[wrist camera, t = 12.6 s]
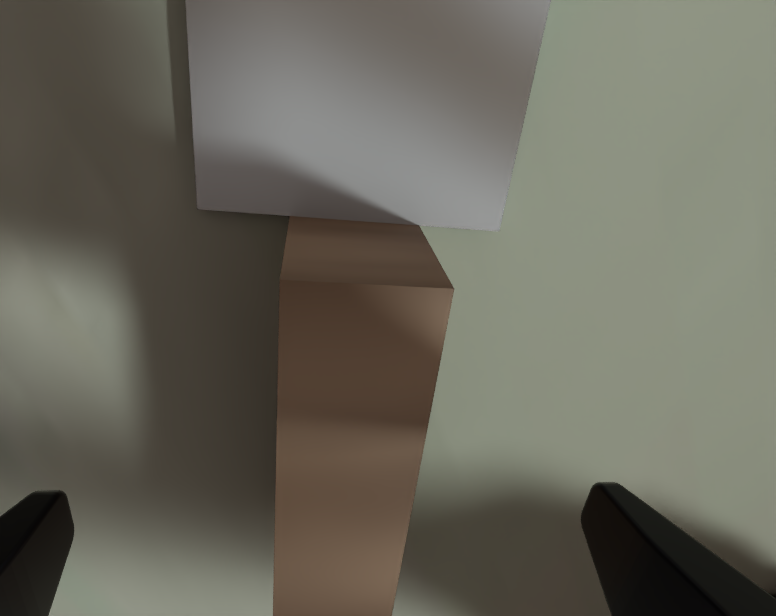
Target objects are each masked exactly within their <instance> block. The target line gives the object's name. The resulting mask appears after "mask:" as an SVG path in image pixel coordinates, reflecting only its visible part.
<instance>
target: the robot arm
mask: <svg viewBox="0 0 776 616" xmlns="http://www.w3.org/2000/svg"><path fill="white" fill-rule="evenodd" d="M581 524H582V528H583V531H584V534H585V538H586V541H587V544H588V547H589V550H590V553H591V556H592V559H593V562H594V565H595V568H596V571H597V574H598V577H599V580H600V583H601V586H602V589H603V592H604V595H605V598H606V601H607V604H608V607H609V609H610V612H611V614H612V616H776V598H774V597H773V596H771V595H770V594H769V593H767V592H766V591H765V590H763V589H762V588H760V587H759V586H758V585H756V584H755V583H754V582H752V581H751V580H750V579H748V578H747V577H745V576H744V575H743V574H741V573H740V572H739V571H737V570H736V569H735V568H733V567H732V566H730V565H729V564H728V563H726V562H725V561H724V560H722V559H721V558H720V557H718V556H717V555H715V554H714V553H713V552H711V551H710V550H709V549H707V548H706V547H705V546H703V545H702V544H700V543H699V542H698V541H696V540H695V539H694V538H692V537H691V536H690V535H688V534H687V533H685V532H684V531H683V530H681V529H680V528H679V527H677V526H676V525H675V524H673V523H672V522H671V521H669V520H668V519H666V518H665V517H664V516H662V515H661V514H660V513H658V512H657V511H656V510H654V509H653V508H651V507H650V506H649V505H647V504H646V503H645V502H643V501H642V500H641V499H639V498H638V497H636V496H635V495H634V494H632V493H631V492H630V491H628V490H627V489H626V488H624V487H623V486H621V485H620V484H618V483H615V482H598V483H595V484H594V485H593V486H592V488H591V490H590V493H589V495H588V498H587V500H586V503H585V505H584V507H583V510H582V513H581ZM73 537H74V523H73V519H72V515H71V511H70V507H69V503H68V499H67V496H66V494H65V493H64V492H63V491H60V490H47V491H35V492H33V493H31V494H29V495H28V496H27V497H25V498H24V499H23V500H21V501H20V502H19V503H17V504H16V505H15V506H13V507H12V508H11V509H10V510H8V511H7V512H6V513H4V514H3V515H2V516H0V616H48V615H49V612H50V609H51V606H52V603H53V600H54V597H55V594H56V591H57V587H58V584H59V581H60V578H61V575H62V572H63V569H64V566H65V563H66V560H67V557H68V554H69V551H70V548H71V544H72V541H73Z"/></svg>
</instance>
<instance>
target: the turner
mask: <svg viewBox="0 0 776 616" xmlns="http://www.w3.org/2000/svg"><path fill="white" fill-rule="evenodd" d="M550 2H551V0H185V3H186V20H187V38H188V55H189V73H190V91H191V108H192V126H193V143H194V161H195V179H196V196H197V209H201V210H215V211H228V212H242V213H256V214H269V215H283V216H290V217H289V223H288V230H287V236H286V242H285V249H284V255H283V261H282V268H281V274H280V287H279V337H278V388H277V439H276V490H275V540H274V591H273V616H392V610H393V605H394V600H395V595H396V590H397V584H398V579H399V574H400V569H401V563H402V558H403V553H404V548H405V543H406V537H407V532H408V527H409V522H410V517H411V511H412V506H413V501H414V496H415V490H416V485H417V480H418V475H419V470H420V464H421V459H422V454H423V449H424V444H425V438H426V433H427V428H428V423H429V417H430V412H431V407H432V402H433V397H434V391H435V386H436V381H437V376H438V371H439V365H440V360H441V355H442V350H443V344H444V339H445V334H446V329H447V324H448V318H449V313H450V308H451V303H452V298H453V292H454V288H453V286H452V284H451V282H450V281H449V279H448V277H447V275H446V273H445V272H444V270H443V268H442V266H441V264H440V263H439V261H438V259H437V257H436V255H435V254H434V252H433V250H432V248H431V246H430V245H429V243H428V241H427V239H426V237H425V236H424V234H423V232H422V230H421V228H420V227H419V225H420V226H433V227H447V228H461V229H474V230H488V231H499V230H500V226H501V221H502V217H503V212H504V208H505V203H506V199H507V194H508V190H509V185H510V181H511V176H512V172H513V167H514V163H515V158H516V154H517V150H518V145H519V141H520V136H521V132H522V127H523V123H524V118H525V114H526V109H527V105H528V100H529V96H530V91H531V87H532V82H533V78H534V73H535V69H536V65H537V60H538V56H539V51H540V47H541V42H542V38H543V33H544V29H545V24H546V20H547V15H548V11H549V6H550Z"/></svg>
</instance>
